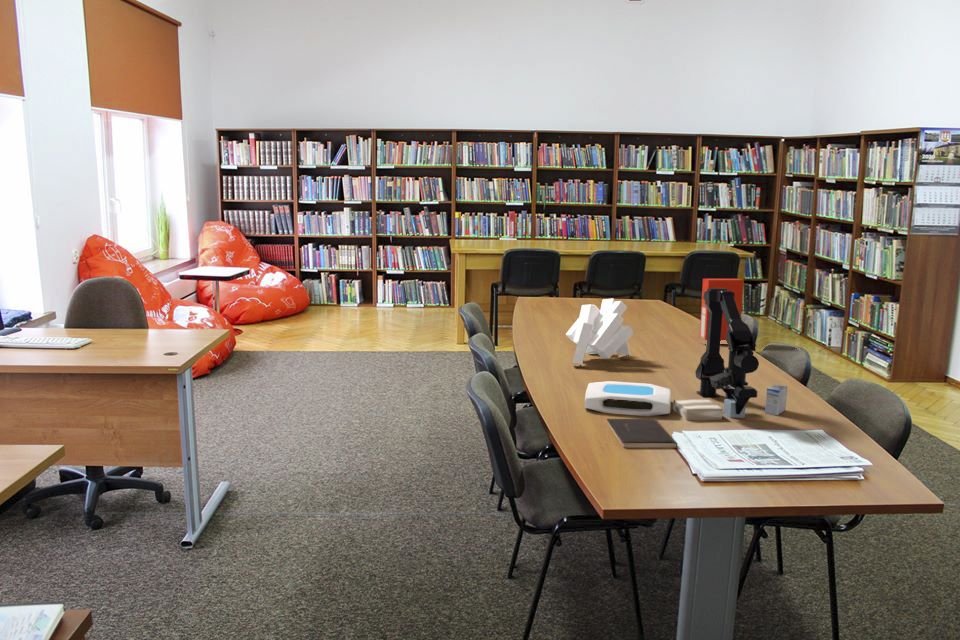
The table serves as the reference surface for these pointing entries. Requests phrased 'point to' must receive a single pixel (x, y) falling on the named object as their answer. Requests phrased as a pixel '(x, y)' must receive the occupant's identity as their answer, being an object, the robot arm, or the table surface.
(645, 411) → the document scanner
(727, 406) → the grey cube
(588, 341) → the pile of blocks
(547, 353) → the table surface
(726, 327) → the file binder
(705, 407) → the cream block
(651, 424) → the hardcover book
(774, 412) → the medicine box
